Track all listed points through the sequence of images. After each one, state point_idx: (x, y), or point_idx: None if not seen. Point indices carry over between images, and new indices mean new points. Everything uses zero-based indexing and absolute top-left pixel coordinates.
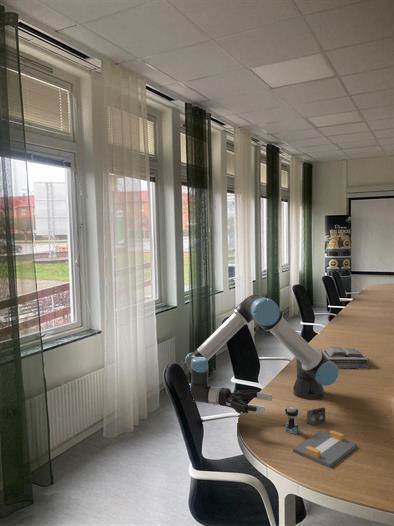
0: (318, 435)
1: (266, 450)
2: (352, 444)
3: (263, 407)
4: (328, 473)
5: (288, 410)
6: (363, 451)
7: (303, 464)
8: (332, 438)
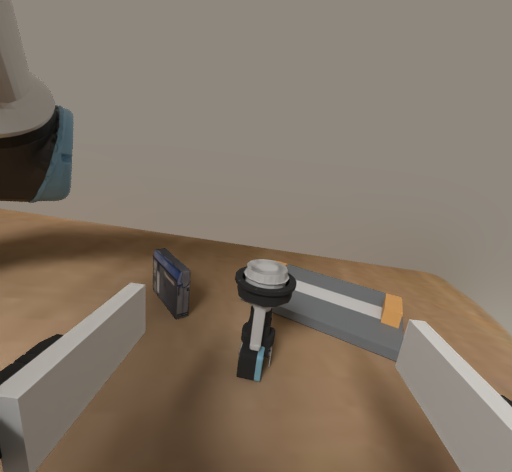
0: None
1: None
2: (290, 266)
3: (430, 332)
4: (423, 308)
5: (283, 280)
6: None
7: None
8: None
